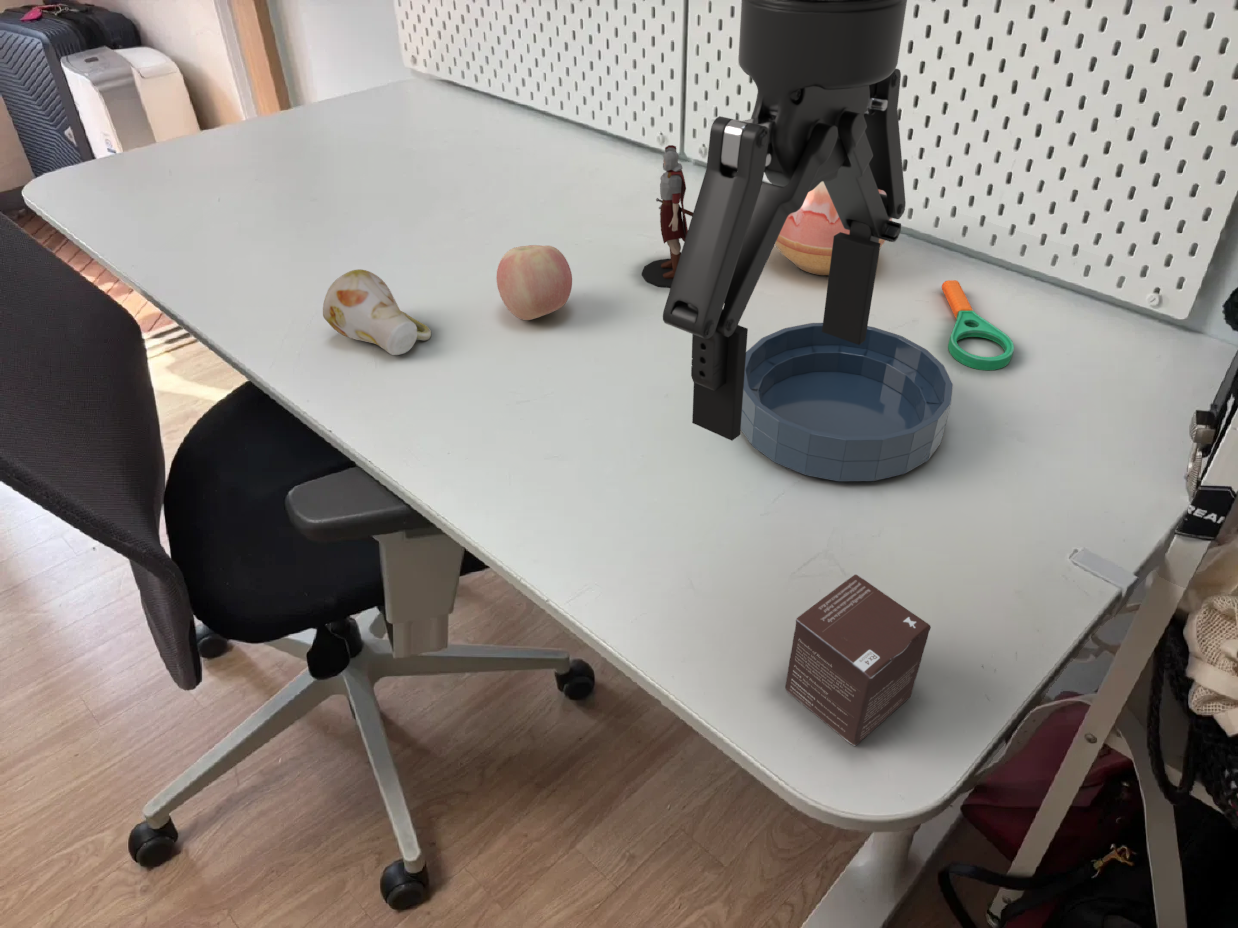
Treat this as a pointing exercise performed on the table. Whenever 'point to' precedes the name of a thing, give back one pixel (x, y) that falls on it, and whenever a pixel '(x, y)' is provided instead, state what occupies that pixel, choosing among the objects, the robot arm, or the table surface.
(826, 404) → the bowl
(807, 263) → the vase
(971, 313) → the magnifying glass
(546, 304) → the apple
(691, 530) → the table surface
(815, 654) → the box
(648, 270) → the figurine
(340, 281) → the mug
